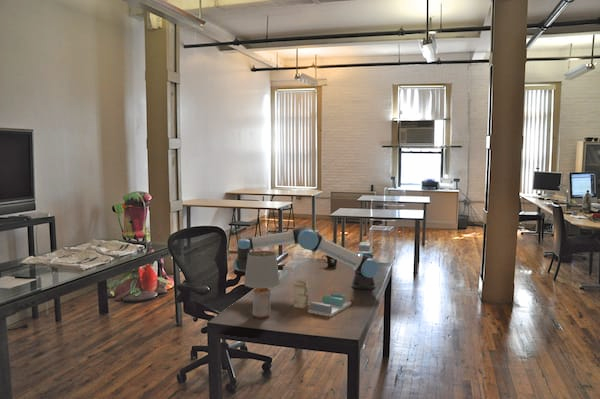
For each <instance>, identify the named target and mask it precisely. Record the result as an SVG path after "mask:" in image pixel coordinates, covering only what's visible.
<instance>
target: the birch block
mask: <svg viewBox="0 0 600 399" xmlns="http://www.w3.org/2000/svg"><path fill="white" fill-rule="evenodd" d="M309 289H310V288H309V281H306V280H301V279H299V280H296V281H294V282H293V306H294V308H299V309H304V308H307V307H308V306H309Z"/></svg>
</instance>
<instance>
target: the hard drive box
mask: <svg viewBox="0 0 600 399" xmlns="http://www.w3.org/2000/svg"><path fill="white" fill-rule="evenodd" d="M363 251H365V252H371V242H369V241H360V242H359V244H358V252H363Z"/></svg>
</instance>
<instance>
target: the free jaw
mask: <svg viewBox="0 0 600 399" xmlns="http://www.w3.org/2000/svg"><path fill="white" fill-rule="evenodd" d="M345 301H346V294H338V293H334V292H333V293H331V294H330V295H325V294H324V295H323V296H322V302H323V303H325V304H331V305H336V306H343V303H344V302H345Z"/></svg>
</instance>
